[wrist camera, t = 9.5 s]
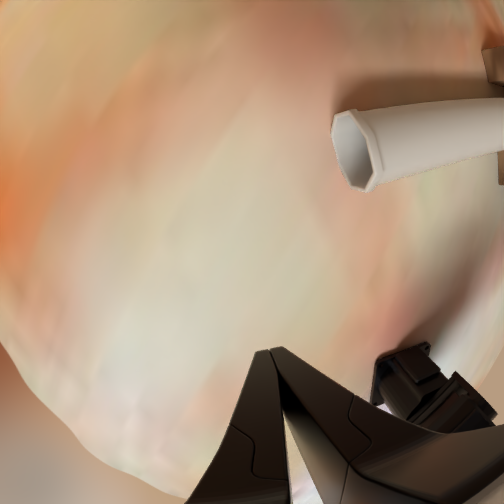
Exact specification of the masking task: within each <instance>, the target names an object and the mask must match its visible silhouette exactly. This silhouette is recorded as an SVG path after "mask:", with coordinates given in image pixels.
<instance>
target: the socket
mask: <svg viewBox="0 0 504 504" xmlns="http://www.w3.org/2000/svg"><path fill="white" fill-rule="evenodd" d="M481 51H482V55H483V59H484V63H485V67H486V72H487V76H488V81H489V82H490V83H493V84H496V85H499V86H502V87H504V46H499V47H494V48H490V49H485V50H481ZM498 171H499V185H504V150H502V151H498Z"/></svg>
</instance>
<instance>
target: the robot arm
mask: <svg viewBox="0 0 504 504" xmlns="http://www.w3.org/2000/svg"><path fill="white" fill-rule="evenodd" d="M430 347H431V345H430V343H428V342H424V343H422V344H419V345H417V346H414V347H412V348H409V349H406V350H404V351H401V352H398V353H396V354H393V355H390V356H387V357H384V358H382V359H379V360H377V361H376V363H375V367H374V375H373V382H372V390H371V396H370V403H369V402H367V401H365V400H364V399H362V398H360V397H359V396H357V395H355V396H354V393H352V392H351V391H349V390H347V389H346V388H344V387H343V386H341V385H340V384H338V383H337V382H335V381H334V380H332V379H330V378H329V377H327V376H326V375H324V374H323V373H321V372H320V371H318V370H317V369H315V368H314V367H312V366H311V365H309V364H308V363H306V362H305V361H303V360H302V359H300V358H299V357H297V356H296V355H295V354H293V353H292V352H290V351H289V350H287V349H286V348H284V347H282V346H280V347H276V348H271V349H270V350H267V349H266V350H261V351H257V352H255V354H254V357H253V360H252V363H251V366H250V368H249V371H248V374H247V377H246V380H245V382H244V385H243V388H242V390H241V393H240V396H239V399H238V401H237V404H236V407H235V409H234V412H233V415H232V417H231V420H230V423H229V426H228V428H227V430H226V433H225V435H224V438H223V440H222V442H221V445H220V447H219V449H218V451H217V453H216V454H215V456H214V458H213V460H212V462H211V463H210V465H209V467H208V468H207V470H206V472H205V473H204V475H203V476H202V478H201V480H200V481H199V483H198V485H197V486H196V488H195V489H194V491H193V492H192V494H191V495H190V497H189V498H188V500H187V501H186V502H185V503H184V504H293V499H292V489H291V480H290V470H289V461H288V452H287V443H286V434H285V425H284V417H285V419H286V422H287V424H288V426H289V428H290V431H291V433H292V435H293V438H294V440H295V442H296V444H297V447H298V449H299V451H300V453H301V456H302V458H303V460H304V462H305V464H306V467H307V469H308V471H309V473H310V475H311V478H312V480H313V482H314V484H315V486H316V489H317V491H318V493H319V495H320V497H321V499H322V501H323V503H324V504H504V424H502V425H498V426H496V425H495V424H494V423H493V422H492V420H493V419H494V418H495V417H496V416H497V412H496V411H495V410H494V409H493V408H492V407H491V405H490V404H489V403H488V402H487V401H486V400H485V399H484V398H483V397H482V396H481V395H480V394H479V393H478V392H477V391H476V390H475V389H474V388H473V387H472V386H471V385H470V384H469V383H468V382H467V381H466V380H465V379H464V378H463V377H461V376H460V375H459V374H458V373H457V372H456V371H455V372H454V373H453V374H452V376H451V378H450V379H449V380H448V379H447V378H446V377H445V376H444V374H443V373H442V372H441V371H440V370H441V369H440V368H439V367H438V366H437V365H436V364H435V363H434V362H433V361H432V360H431V359H430V358H429V357H428V356H429V352H430ZM384 403H385V404H386V406H387V407H388V408H389V410H390V411H391V413H392V414H393V415H392V414H390V413H388V412H386V411H384V410H381V409H379V408H377V407H376V406H379V405H381V404H384ZM283 414H284V417H283Z"/></svg>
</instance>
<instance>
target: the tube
mask: <svg viewBox="0 0 504 504" xmlns="http://www.w3.org/2000/svg"><path fill="white" fill-rule="evenodd" d="M330 134H331V138H332V141H333V145H334V149H335V153H336V157H337V160H338V164H339V168H340V170H341V172H342V174H343V175H344V177H345V179H346V181H347V183H348V185H349V187H350V188H351V189H353V190H357V191H361V192H366V193H368V192H371V191H373V190H374V188H375V186H378V185H381V184H384V183H387V182H391V181H394V180H398V179H401V178H404V177H408V176H411V175H415V174H418V173H422V172H425V171H429V170H432V169H436V168H439V167H443V166H446V165H450V164H454V163H457V162H461V161H464V160H468V159H472V158H476V157H479V156H483V155H487V154H490V153H494V152H498V151H502V150H504V98H477V99H459V100H446V101H434V102H425V103H416V104H408V105H400V106H393V107H386V108H379V109H373V110H367V111H358V110H357V109H350V110H347V111H343V112H340V113H337V114H335V115H334V119H333V123H332V127H331V132H330Z"/></svg>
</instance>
